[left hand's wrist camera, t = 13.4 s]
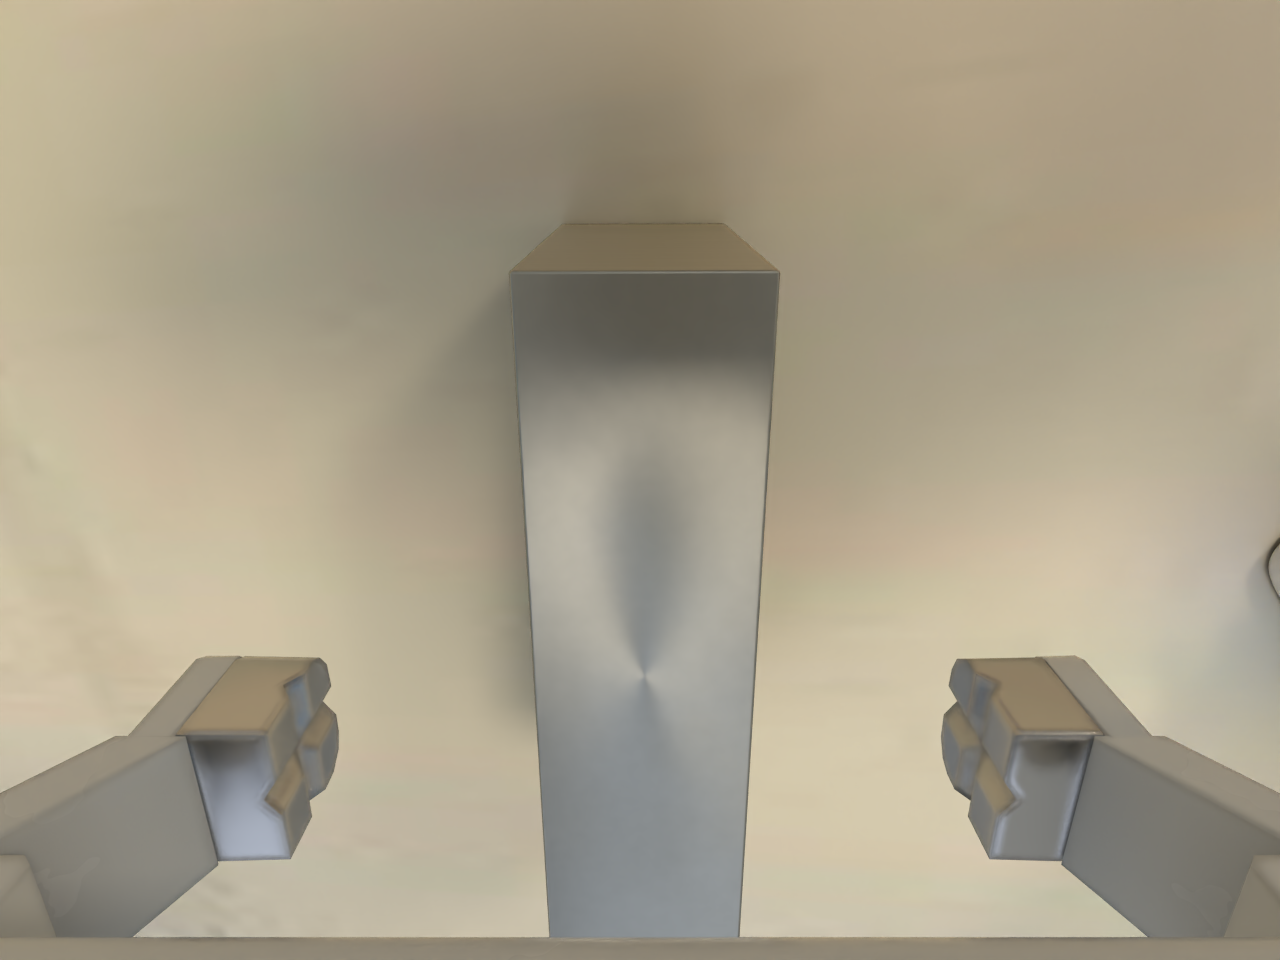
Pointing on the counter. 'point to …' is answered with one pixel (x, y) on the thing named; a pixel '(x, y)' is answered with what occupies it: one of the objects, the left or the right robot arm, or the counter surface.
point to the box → (644, 563)
